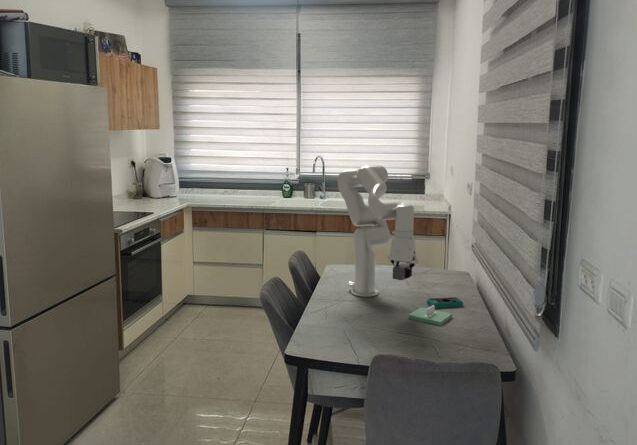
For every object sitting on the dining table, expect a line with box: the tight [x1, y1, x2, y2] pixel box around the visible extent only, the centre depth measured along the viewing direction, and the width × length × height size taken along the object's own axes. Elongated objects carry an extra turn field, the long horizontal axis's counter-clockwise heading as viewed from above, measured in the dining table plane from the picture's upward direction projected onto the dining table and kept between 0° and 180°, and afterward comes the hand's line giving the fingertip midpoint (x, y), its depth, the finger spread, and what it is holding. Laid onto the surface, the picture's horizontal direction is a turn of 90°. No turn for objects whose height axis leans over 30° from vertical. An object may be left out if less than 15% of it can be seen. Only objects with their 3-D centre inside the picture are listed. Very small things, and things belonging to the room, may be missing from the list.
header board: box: [407, 305, 453, 326], centre depth 224 cm, size 14×12×4 cm
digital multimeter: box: [426, 296, 464, 309], centre depth 241 cm, size 7×15×3 cm, turn 103°
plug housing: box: [392, 262, 413, 281], centre depth 229 cm, size 4×9×5 cm, turn 144°
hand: (402, 276), depth 229 cm, fingers closed on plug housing, 4 cm apart
